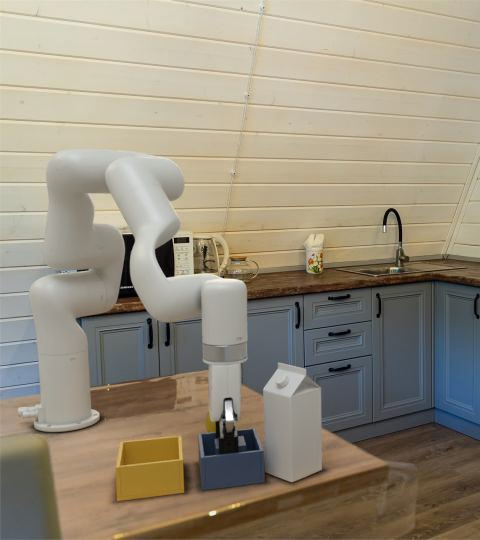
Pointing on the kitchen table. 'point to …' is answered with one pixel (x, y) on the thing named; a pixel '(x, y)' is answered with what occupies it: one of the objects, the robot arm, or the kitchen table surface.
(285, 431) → the milk carton
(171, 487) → the yellow bin
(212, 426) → the lemon
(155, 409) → the kitchen table surface
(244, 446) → the blue block
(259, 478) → the blue bin
